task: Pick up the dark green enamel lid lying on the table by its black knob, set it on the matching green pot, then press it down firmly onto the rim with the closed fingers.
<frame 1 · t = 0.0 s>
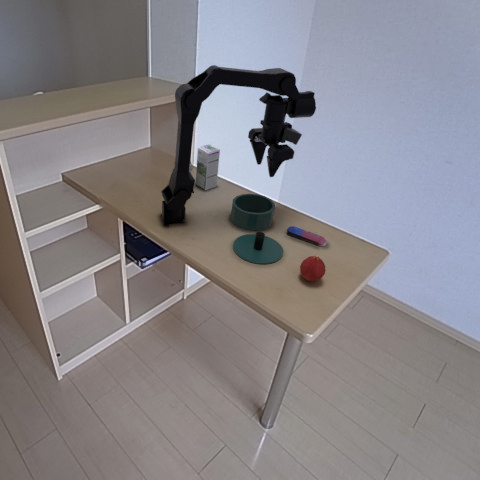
hand: (265, 170, 112), 15 cm above the table, tool pointing down, fingers open, 9 cm apart
lid: (257, 249, 103), point 1 cm above the table
syrup box: (205, 186, 136), on the table
eraser: (305, 240, 108), on the table
pot: (250, 221, 116), on the table
onion: (308, 280, 93), on the table
food container: (182, 189, 133), on the table
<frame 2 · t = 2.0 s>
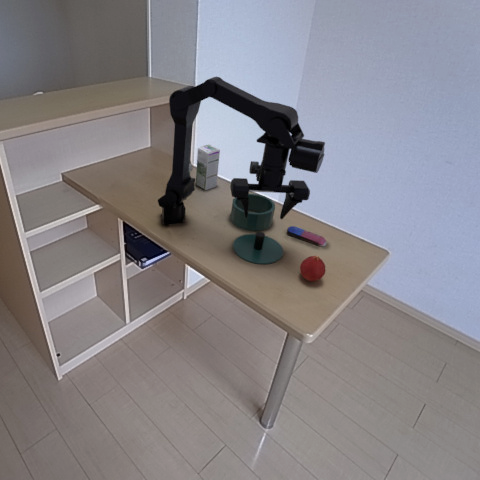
hand: (263, 217, 98), 10 cm above the table, tool pointing down, fingers open, 9 cm apart
nothing on the table moved.
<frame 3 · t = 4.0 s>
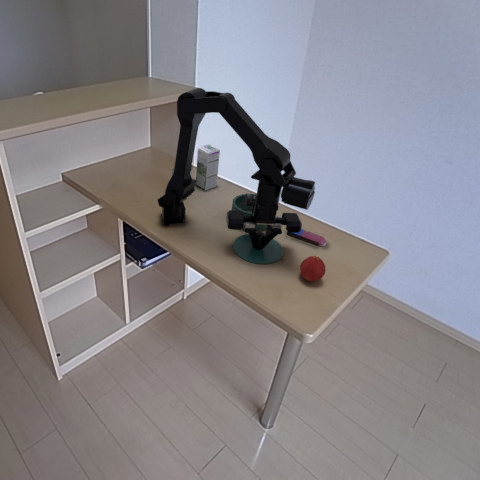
hand: (258, 246, 102), 1 cm above the table, tool pointing down, fingers closed on lid, 2 cm apart
lid: (257, 249, 103), point 1 cm above the table, touching gripper
everything else where it was.
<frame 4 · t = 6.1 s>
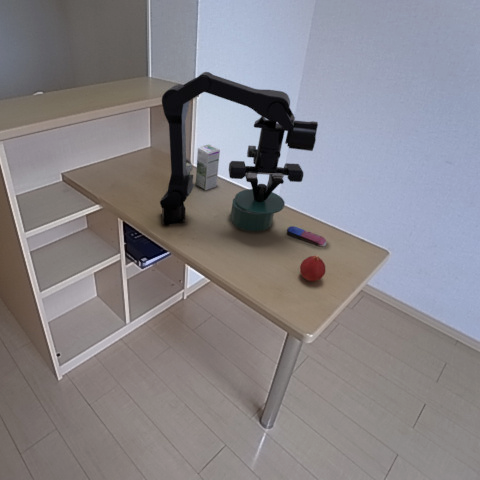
hand: (259, 199, 103), 12 cm above the table, tool pointing down, fingers closed on lid, 2 cm apart
lid: (259, 201, 103), point 11 cm above the table, touching gripper
everything else where it was.
when the fingers open (7 cm above the table, at t = 8.4 s): lid stays where it is, resting on pot.
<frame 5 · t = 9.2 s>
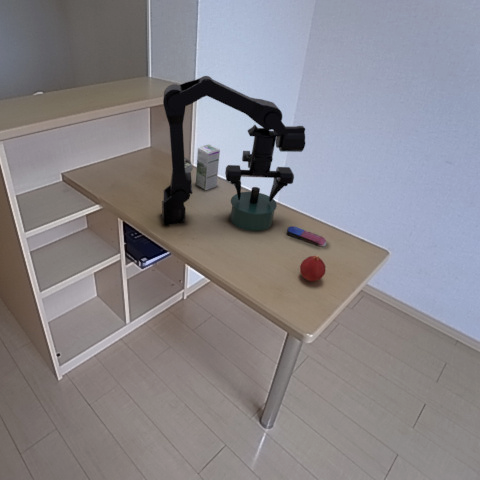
hand: (254, 200, 111), 8 cm above the table, tool pointing down, fingers open, 9 cm apart
lid: (253, 203, 112), point 6 cm above the table, touching pot
everything else where it was.
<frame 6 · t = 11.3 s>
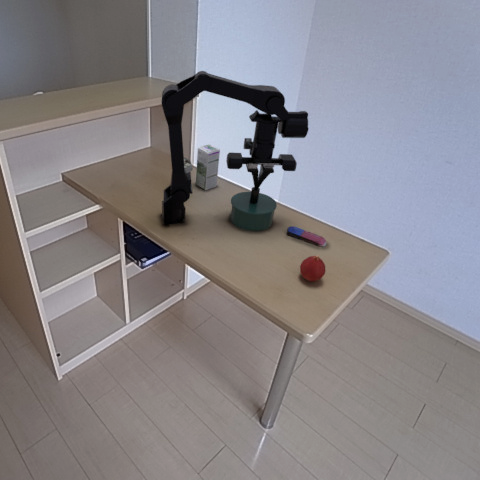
hand: (256, 188, 109), 11 cm above the table, tool pointing down, fingers closed, pressing on lid
lid: (253, 203, 112), point 6 cm above the table, touching gripper, pot
everything else where it was.
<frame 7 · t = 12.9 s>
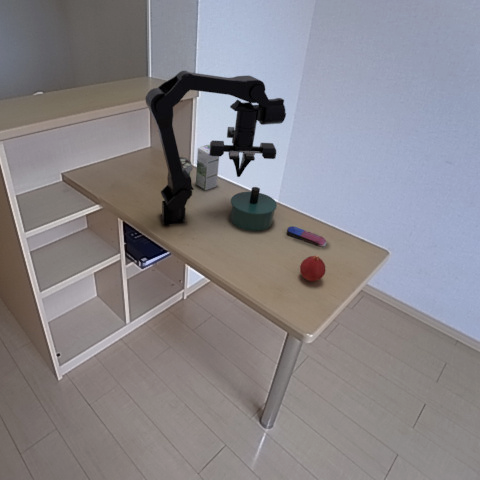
hand: (238, 176, 113), 13 cm above the table, tool pointing down, fingers closed
lid: (253, 203, 112), point 6 cm above the table, touching pot
everything else where it was.
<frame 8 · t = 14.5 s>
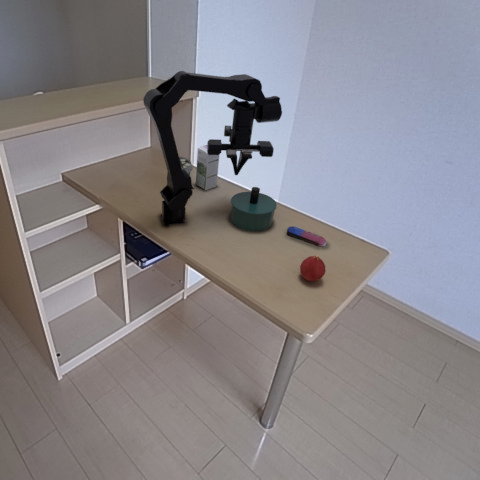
hand: (235, 174, 113), 13 cm above the table, tool pointing down, fingers closed
nothing on the table moved.
at the end: lid 0.1 cm off-centre on the pot, point 6.4 cm above the pot's base; lid tilted 0°; the gripper is holding nothing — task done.
